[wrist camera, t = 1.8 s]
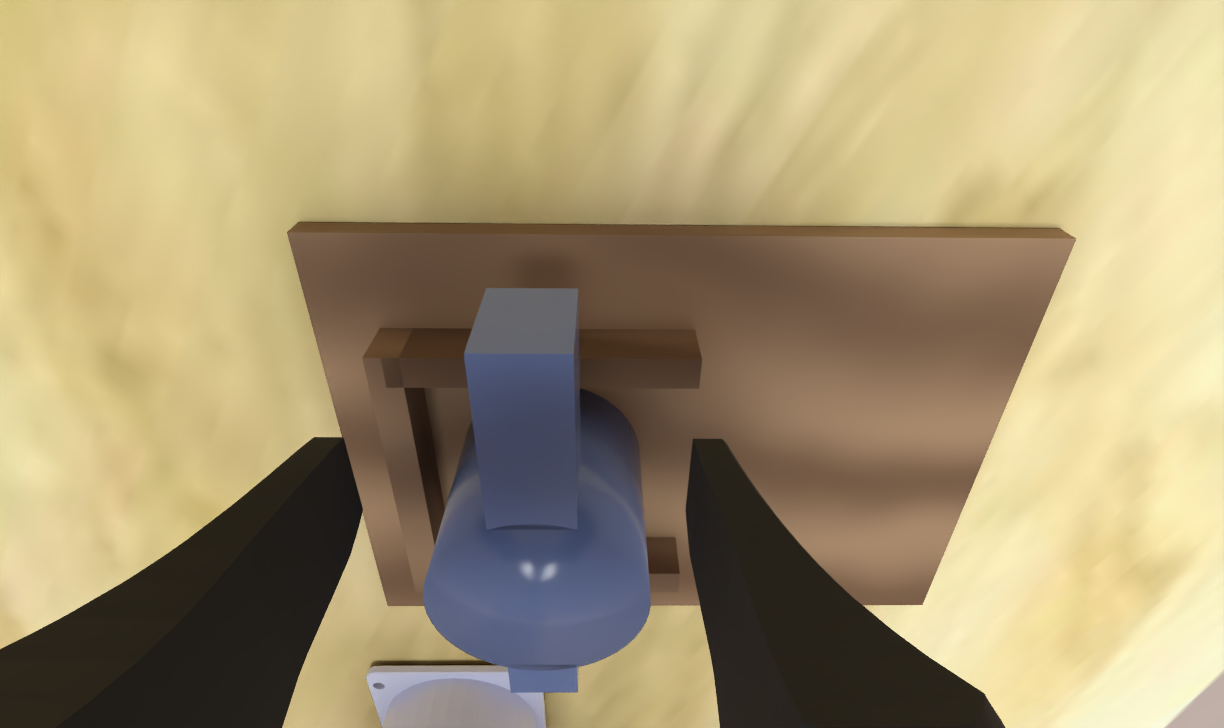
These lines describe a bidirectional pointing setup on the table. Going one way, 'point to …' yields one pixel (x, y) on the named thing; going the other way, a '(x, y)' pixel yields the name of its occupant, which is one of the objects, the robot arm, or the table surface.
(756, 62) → the table surface
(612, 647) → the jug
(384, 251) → the stand
